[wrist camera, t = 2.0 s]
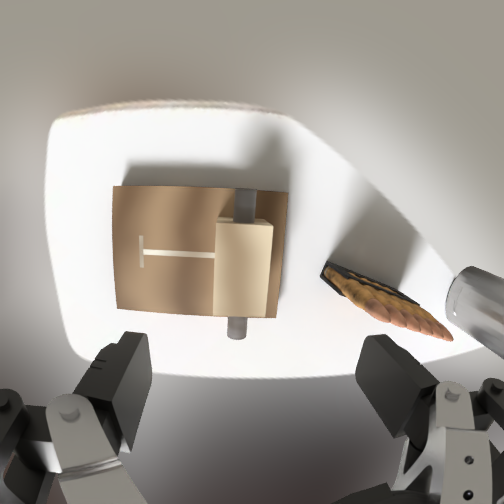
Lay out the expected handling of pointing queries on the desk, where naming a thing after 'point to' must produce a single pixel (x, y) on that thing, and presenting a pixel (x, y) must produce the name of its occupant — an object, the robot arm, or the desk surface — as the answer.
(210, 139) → the desk surface
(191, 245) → the walnut board
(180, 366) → the desk surface
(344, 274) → the ammunition clip
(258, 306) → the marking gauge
